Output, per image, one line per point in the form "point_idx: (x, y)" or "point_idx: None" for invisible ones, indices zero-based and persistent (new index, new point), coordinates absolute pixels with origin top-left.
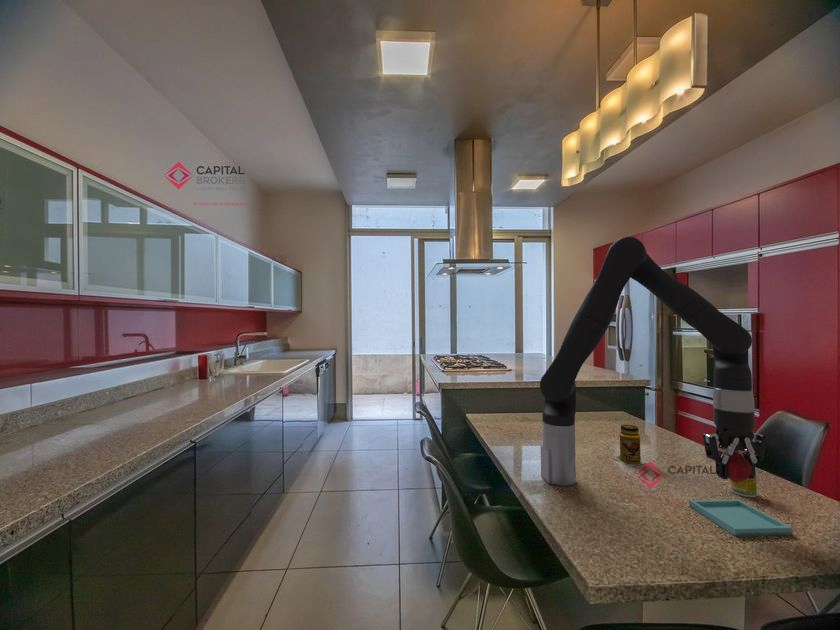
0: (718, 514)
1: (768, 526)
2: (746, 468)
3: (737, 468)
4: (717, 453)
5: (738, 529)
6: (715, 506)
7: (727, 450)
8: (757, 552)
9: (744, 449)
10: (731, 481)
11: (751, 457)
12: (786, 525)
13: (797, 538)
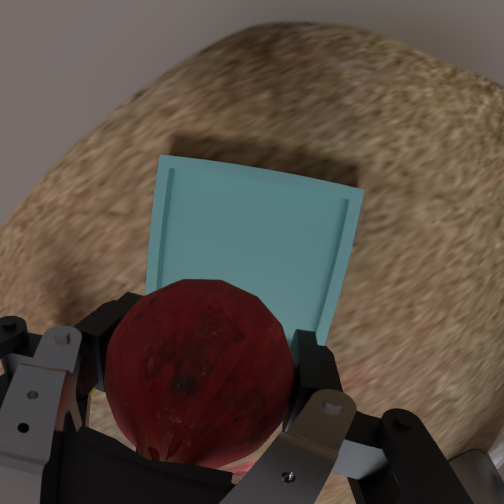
0: (288, 295)
1: (229, 174)
2: (199, 300)
3: (262, 329)
4: (411, 460)
5: (352, 187)
6: None
7: (324, 483)
8: (376, 113)
9: (78, 435)
10: (91, 392)
11: (66, 359)
12: (161, 169)
13: (174, 139)
